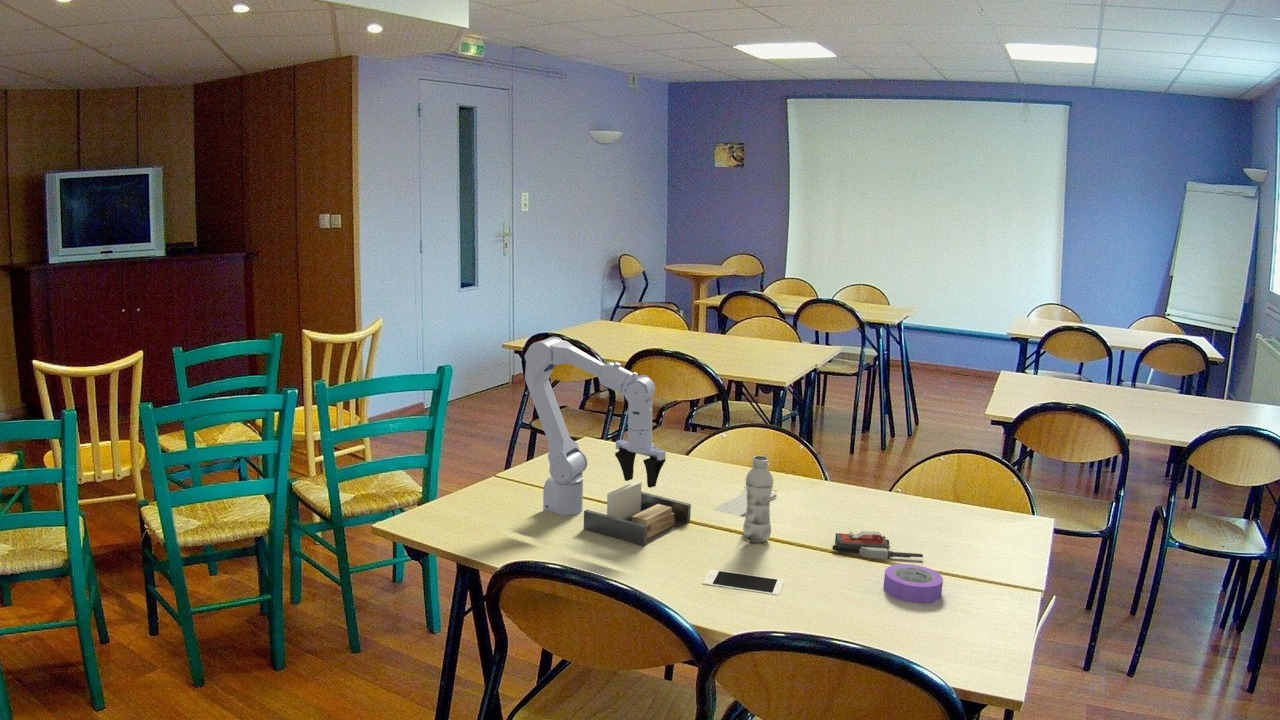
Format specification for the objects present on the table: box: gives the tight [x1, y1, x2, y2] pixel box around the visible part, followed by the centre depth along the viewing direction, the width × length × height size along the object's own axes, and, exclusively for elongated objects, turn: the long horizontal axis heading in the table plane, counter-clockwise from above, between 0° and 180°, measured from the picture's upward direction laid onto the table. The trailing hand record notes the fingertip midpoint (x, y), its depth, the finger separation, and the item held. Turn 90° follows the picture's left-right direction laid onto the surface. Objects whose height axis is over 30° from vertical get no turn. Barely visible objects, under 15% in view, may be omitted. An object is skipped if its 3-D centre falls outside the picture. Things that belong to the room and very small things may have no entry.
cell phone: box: [702, 568, 785, 596], centre depth 207 cm, size 8×16×1 cm, turn 74°
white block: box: [606, 480, 642, 519], centre depth 236 cm, size 2×12×8 cm, turn 146°
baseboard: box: [712, 486, 777, 518], centre depth 252 cm, size 30×3×10 cm
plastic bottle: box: [742, 455, 774, 543], centre depth 229 cm, size 6×7×20 cm
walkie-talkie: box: [832, 530, 924, 560], centre depth 225 cm, size 9×4×20 cm
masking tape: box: [883, 563, 944, 604], centre depth 205 cm, size 12×12×4 cm
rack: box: [583, 491, 692, 547], centre depth 234 cm, size 17×20×6 cm
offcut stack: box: [632, 504, 674, 538], centre depth 232 cm, size 4×12×4 cm, turn 146°
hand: (640, 483), depth 235 cm, fingers open, 7 cm apart
